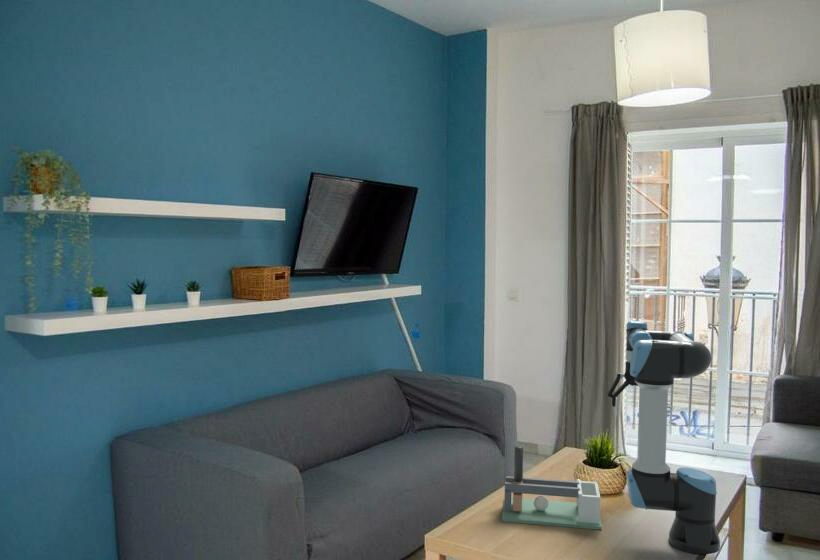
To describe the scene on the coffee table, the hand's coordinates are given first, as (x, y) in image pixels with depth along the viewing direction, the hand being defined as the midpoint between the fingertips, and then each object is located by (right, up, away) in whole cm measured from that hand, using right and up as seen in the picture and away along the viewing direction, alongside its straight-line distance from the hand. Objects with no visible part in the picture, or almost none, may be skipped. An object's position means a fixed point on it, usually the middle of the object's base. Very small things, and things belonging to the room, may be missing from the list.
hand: (634, 415), depth 274 cm
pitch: (-38, -29, -26) cm, 54 cm away
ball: (-41, -26, -25) cm, 55 cm away
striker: (-49, -27, -24) cm, 61 cm away
